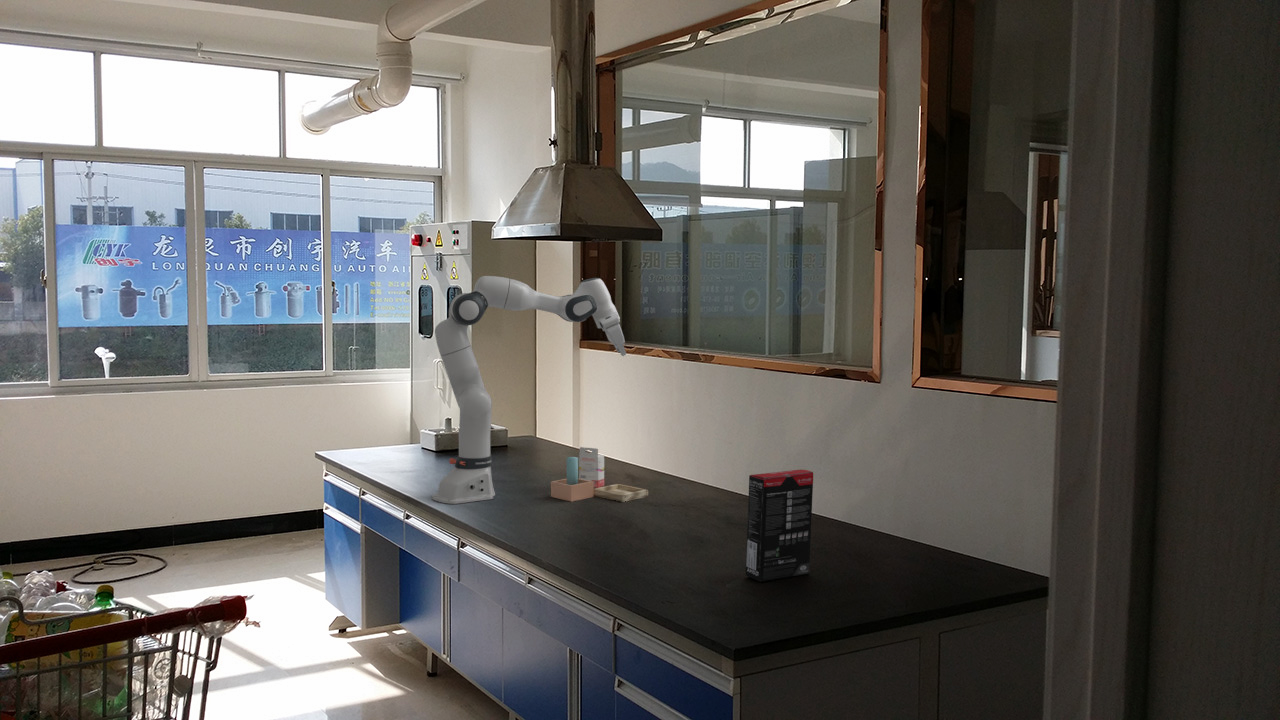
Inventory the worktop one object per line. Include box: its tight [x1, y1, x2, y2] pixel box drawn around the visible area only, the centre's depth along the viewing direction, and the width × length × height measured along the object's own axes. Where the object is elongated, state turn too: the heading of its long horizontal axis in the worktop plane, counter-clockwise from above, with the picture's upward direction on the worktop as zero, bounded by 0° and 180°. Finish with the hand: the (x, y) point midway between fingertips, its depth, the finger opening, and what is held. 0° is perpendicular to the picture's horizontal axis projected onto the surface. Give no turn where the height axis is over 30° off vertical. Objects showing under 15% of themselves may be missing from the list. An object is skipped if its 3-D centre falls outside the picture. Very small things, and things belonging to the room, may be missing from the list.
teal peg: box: [566, 456, 579, 485], centre depth 350 cm, size 4×4×14 cm
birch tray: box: [593, 483, 649, 503], centre depth 352 cm, size 13×15×2 cm
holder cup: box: [550, 477, 595, 502], centre depth 350 cm, size 11×11×6 cm
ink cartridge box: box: [578, 446, 605, 489], centre depth 369 cm, size 9×5×15 cm, turn 62°
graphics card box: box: [745, 469, 814, 583], centre depth 256 cm, size 17×7×27 cm, turn 123°
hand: (622, 353), depth 362 cm, fingers open, 8 cm apart
